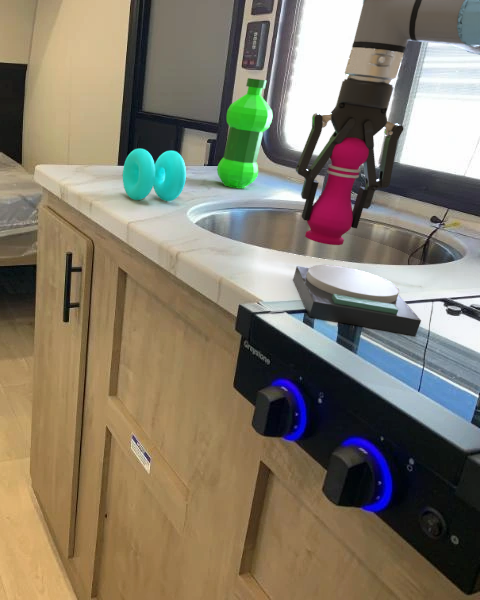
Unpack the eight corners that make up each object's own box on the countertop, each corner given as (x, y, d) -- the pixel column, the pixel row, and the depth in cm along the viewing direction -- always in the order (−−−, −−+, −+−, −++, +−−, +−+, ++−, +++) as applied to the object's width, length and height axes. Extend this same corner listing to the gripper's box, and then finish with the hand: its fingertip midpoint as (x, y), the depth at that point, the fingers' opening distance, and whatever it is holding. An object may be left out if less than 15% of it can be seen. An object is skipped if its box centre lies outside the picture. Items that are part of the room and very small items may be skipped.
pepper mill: (330, 253, 99) (367, 129, 91) (292, 240, 104) (324, 121, 96) (352, 249, 103) (388, 130, 96) (314, 237, 108) (346, 123, 101)
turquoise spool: (183, 206, 119) (193, 156, 115) (138, 205, 115) (147, 153, 111) (159, 194, 127) (167, 146, 123) (117, 193, 123) (124, 143, 120)
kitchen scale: (382, 294, 82) (389, 274, 81) (415, 336, 69) (424, 312, 68) (293, 279, 83) (298, 259, 82) (308, 317, 71) (315, 293, 69)
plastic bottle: (205, 180, 151) (226, 75, 142) (241, 182, 154) (264, 80, 145) (225, 189, 142) (249, 78, 133) (263, 191, 146) (289, 83, 136)
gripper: (306, 71, 91) (270, 217, 100) (446, 89, 88) (396, 237, 97) (299, 71, 98) (266, 208, 107) (428, 88, 95) (384, 226, 104)
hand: (328, 222), depth 102 cm, fingers closed on pepper mill, 7 cm apart
